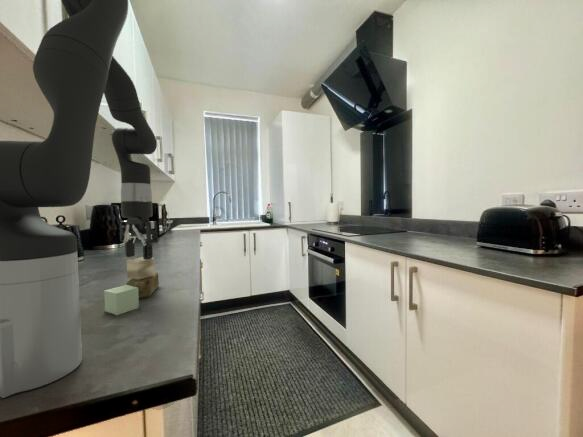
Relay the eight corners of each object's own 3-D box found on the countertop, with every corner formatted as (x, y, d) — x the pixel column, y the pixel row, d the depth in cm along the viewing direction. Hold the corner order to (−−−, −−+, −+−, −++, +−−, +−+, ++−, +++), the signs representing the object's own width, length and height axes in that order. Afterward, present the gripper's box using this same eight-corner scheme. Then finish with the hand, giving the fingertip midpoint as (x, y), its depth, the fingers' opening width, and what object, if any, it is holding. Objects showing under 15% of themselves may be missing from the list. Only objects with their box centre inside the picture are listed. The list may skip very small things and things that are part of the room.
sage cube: (116, 315, 58) (115, 293, 58) (105, 311, 61) (104, 290, 60) (138, 308, 63) (138, 287, 62) (127, 304, 65) (126, 284, 65)
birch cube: (137, 279, 70) (137, 261, 70) (127, 277, 72) (126, 259, 72) (155, 275, 74) (154, 258, 74) (144, 273, 77) (144, 256, 77)
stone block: (125, 300, 68) (125, 282, 68) (138, 288, 79) (138, 272, 79) (150, 298, 70) (149, 280, 69) (159, 286, 81) (159, 270, 80)
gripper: (108, 200, 73) (110, 258, 73) (138, 199, 66) (140, 262, 66) (135, 201, 79) (137, 253, 80) (165, 200, 72) (167, 257, 73)
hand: (138, 257), depth 73 cm, fingers open, 8 cm apart
